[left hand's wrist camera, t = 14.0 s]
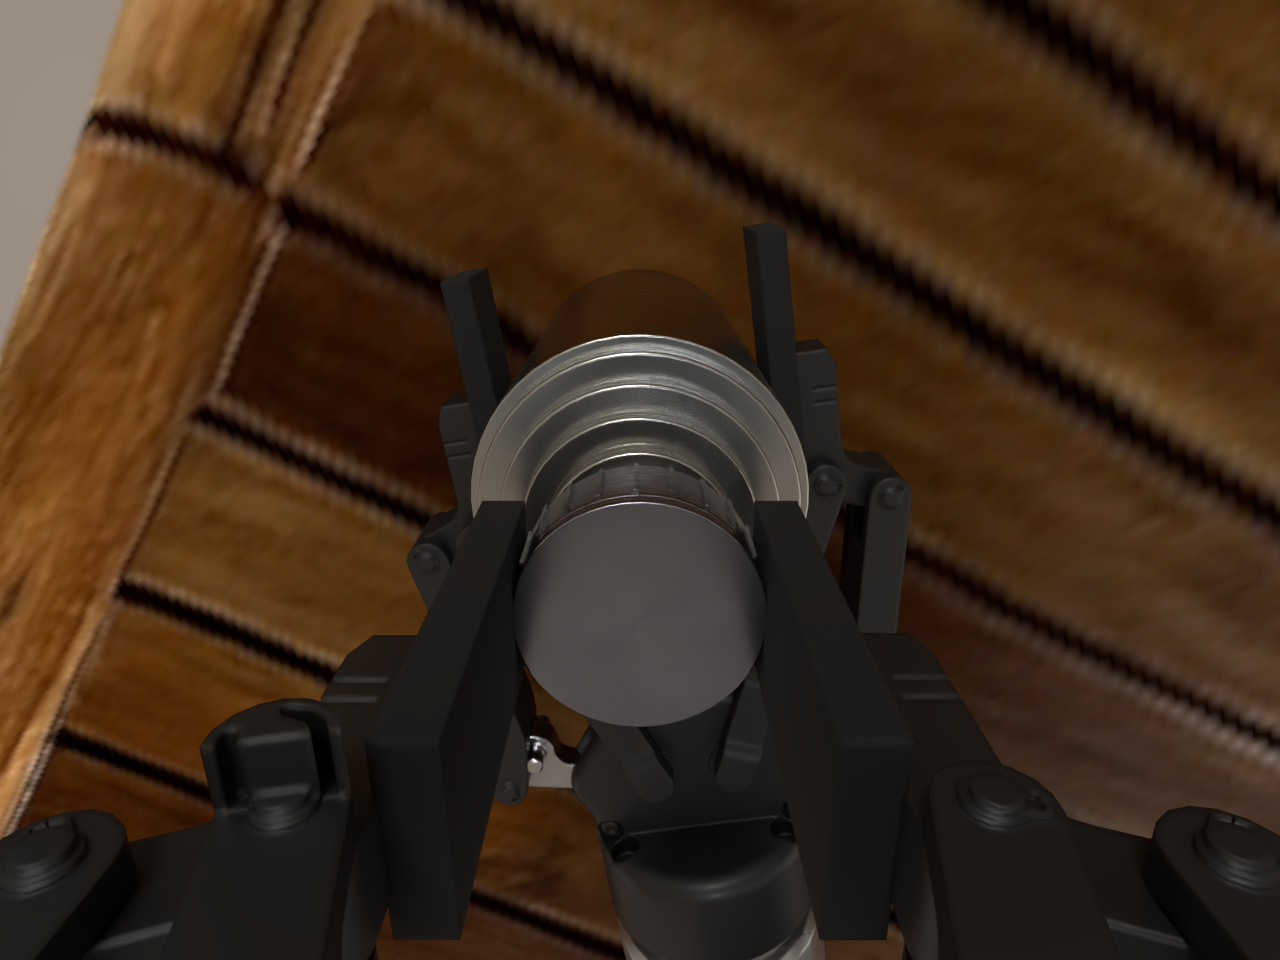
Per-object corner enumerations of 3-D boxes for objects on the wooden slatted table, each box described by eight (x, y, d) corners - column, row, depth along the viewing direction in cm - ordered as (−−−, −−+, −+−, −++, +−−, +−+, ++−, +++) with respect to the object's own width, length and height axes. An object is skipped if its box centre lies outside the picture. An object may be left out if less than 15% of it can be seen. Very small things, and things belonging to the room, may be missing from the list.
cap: (803, 534, 14) (824, 580, 13) (677, 706, 16) (681, 767, 14) (597, 417, 14) (591, 449, 12) (481, 607, 15) (462, 660, 13)
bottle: (782, 340, 29) (958, 538, 13) (673, 505, 31) (708, 847, 15) (602, 228, 27) (550, 295, 12) (501, 409, 30) (342, 674, 14)
